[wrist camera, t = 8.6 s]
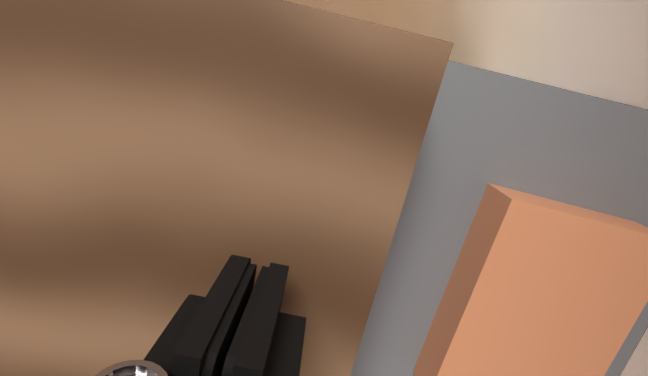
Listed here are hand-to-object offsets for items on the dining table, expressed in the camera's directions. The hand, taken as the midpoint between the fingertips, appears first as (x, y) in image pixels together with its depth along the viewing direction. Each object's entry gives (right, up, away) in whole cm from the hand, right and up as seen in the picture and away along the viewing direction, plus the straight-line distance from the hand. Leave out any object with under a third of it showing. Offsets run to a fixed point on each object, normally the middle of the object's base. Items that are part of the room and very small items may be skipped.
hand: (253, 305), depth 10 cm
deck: (-3, +2, +5) cm, 6 cm away
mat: (+10, -1, +5) cm, 11 cm away
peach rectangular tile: (+10, -2, +3) cm, 11 cm away
